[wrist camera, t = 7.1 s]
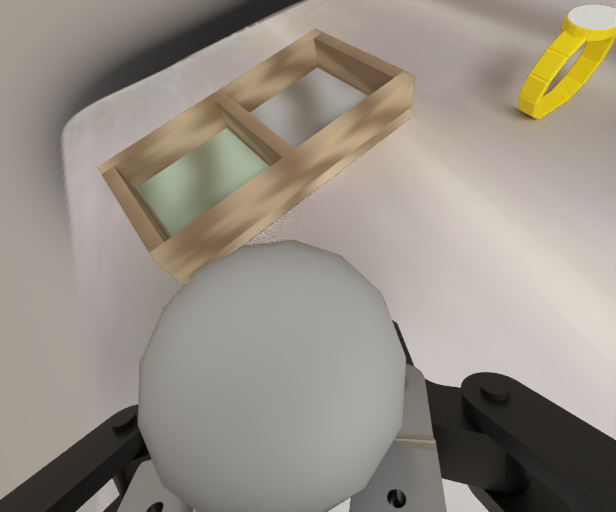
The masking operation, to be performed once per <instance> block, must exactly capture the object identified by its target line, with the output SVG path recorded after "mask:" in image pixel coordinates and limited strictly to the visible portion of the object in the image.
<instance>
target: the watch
mask: <svg viewBox="0 0 616 512" xmlns="http://www.w3.org/2000/svg"><path fill="white" fill-rule="evenodd" d="M561 30H562V33H561V34H560V35H559V36H558V37H557V38H556V39H555V40H554V42H553V43H552V44H551V45H550V46H549V47H548V49H547V50H545V52H544V53H543V55H542V56H541V57H540V59H539V60H538V62H537V63H536V64H535V66H534V67H533V69H532V70H531V72H530V74H529V75H528V77H527V79H526V81H525V83H524V85H523V87H522V89H521V91H520V94H519V99H518V109H519V110H521V111H522V112H524V113H526V114H528V115H529V116H531V117H533V118H535V119H536V120H539V119H540V118H542V117H543V116H545V115H546V114H548V113H550V112H551V111H553V110H554V109H556V108H557V107H559V106H560V105H562V104H563V103H567V101H568V100H569V99H570V98H571V97H572V96H573V95H574V94H575V93H576V92H577V91H578V90H579V89H580V88H581V87H582V86H583V85H584V82H586V81H587V80H588V79H589V78H590V76H591V75H592V74H593V72H594V71H595V70H596V69H597V67H598V66H599V65H600V64H601V61H603V59H604V57H605V56H606V54H607V52H608V51H609V49H610V48H611V46H612V44H613V43H614V40H615V38H616V9H614V8H612V7H608V6H604V5H585V6H580V7H577V8H575V9H573V10H571V11H570V12H569V13H568V14H567V15H566V17H565V19H564V21H563V23H562V26H561ZM585 42H587V44H586V45H585V47H584V49H583V51H582V53H581V55H580V56H579V57H578V59H577V60H576V62H575V63H574V64H573V66H572V67H571V69H570V70H569V71H568V73H567V75H565V76H564V77H563V78H562V80H561V81H560V82H559V83H558V84H557V85H556V86H555V87H554V88H553V89H552V90H551V91H550V92H549V93H547V94H546V95H544V93H545V91H546V90H547V88H548V86H549V84H550V82H551V81H552V80H553V78H554V77H555V76H556V75H557V73H558V72H559V71H560V69H561V68H562V67H563V65H564V64H565V63H566V62H567V60H568V58H570V57H571V56H572V55H573V54H574V53H575V52H576V51H577V50H578V49H579V48H580V47H581V46H582V45H583V44H584V43H585ZM543 95H544V96H543Z"/></svg>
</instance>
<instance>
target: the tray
mask: <svg viewBox="0 0 616 512" xmlns="http://www.w3.org/2000/svg"><path fill="white" fill-rule="evenodd" d="M414 82H415V76H414V75H412V74H410V73H408V72H406V71H404V70H402V69H400V68H398V67H395V66H393V65H391V64H389V63H387V62H385V61H383V60H381V59H378V58H376V57H374V56H372V55H370V54H368V53H366V52H364V51H362V50H359V49H357V48H355V47H353V46H351V45H349V44H347V43H345V42H342V41H340V40H338V39H336V38H334V37H332V36H330V35H328V34H325V33H323V32H321V31H319V30H317V29H314V30H312V31H311V32H309V33H308V34H306V35H305V36H303V37H301V38H300V39H298V40H297V41H295V42H294V43H292V44H290V45H289V46H287V47H286V48H284V49H283V50H281V51H279V52H278V53H276V54H275V55H273V56H272V57H270V58H268V59H267V60H265V61H264V62H262V63H260V64H259V65H257V66H256V67H254V68H253V69H251V70H249V71H248V72H246V73H245V74H243V75H242V76H240V77H238V78H237V79H235V80H234V81H232V82H231V83H229V84H227V85H226V86H224V87H223V88H221V89H219V90H218V91H216V92H215V93H213V94H212V95H210V96H208V97H207V98H205V99H204V100H202V101H201V102H199V103H197V104H196V105H194V106H193V107H191V108H190V109H188V110H186V111H185V112H183V113H182V114H180V115H179V116H177V117H175V118H174V119H172V120H171V121H169V122H167V123H166V124H164V125H163V126H161V127H160V128H158V129H156V130H155V131H153V132H152V133H150V134H149V135H147V136H145V137H144V138H142V139H141V140H139V141H138V142H136V143H134V144H133V145H131V146H130V147H128V148H126V149H125V150H123V151H122V152H120V153H119V154H117V155H115V156H114V157H112V158H111V159H109V160H108V161H106V162H104V163H103V164H101V165H100V166H98V167H97V168H98V169H99V171H100V173H101V174H102V176H103V177H104V179H105V181H106V182H107V184H108V186H109V187H110V189H111V191H112V192H113V194H114V195H115V197H116V199H117V200H118V202H119V204H120V205H121V207H122V209H123V210H124V212H125V213H126V215H127V217H128V218H129V220H130V222H131V223H132V225H133V227H134V228H135V230H136V232H137V233H138V235H139V236H140V238H141V240H142V241H143V243H144V245H145V246H146V248H147V250H148V251H149V253H150V254H151V256H152V258H153V259H154V261H155V263H156V264H157V265H158V266H160V267H161V268H162V269H164V270H165V271H166V272H168V273H169V274H170V275H172V276H173V277H174V278H176V279H177V280H178V281H180V282H181V283H182V284H184V285H185V284H186V283H187V282H188V281H189V280H190V279H191V278H192V277H193V276H194V274H195V273H196V272H197V271H198V270H199V269H200V268H202V267H204V266H206V265H208V264H210V263H212V262H214V261H216V260H218V259H220V258H222V257H224V256H226V255H228V254H230V253H232V252H234V251H236V250H237V249H238V248H240V247H241V246H242V245H244V244H245V243H246V242H248V241H249V240H250V239H251V238H253V237H254V236H255V235H257V234H258V233H259V232H261V231H262V230H263V229H265V228H266V227H267V226H269V225H270V224H271V223H273V222H274V221H275V220H277V219H278V218H279V217H281V216H282V215H283V214H285V213H286V212H287V211H288V210H290V209H291V208H292V207H294V206H295V205H296V204H298V203H299V202H300V201H302V200H303V199H304V198H306V197H307V196H308V195H310V194H311V193H312V192H314V191H315V190H316V189H318V188H319V187H320V186H321V185H323V184H324V183H325V182H327V181H328V180H329V179H331V178H332V177H333V176H335V175H336V174H337V173H339V172H340V171H341V170H343V169H344V168H345V167H347V166H348V165H349V164H351V163H352V162H353V161H354V160H356V159H357V158H358V157H360V156H361V155H362V154H364V153H365V152H366V151H368V150H369V149H370V148H372V147H373V146H374V145H376V144H377V143H378V142H380V141H381V140H382V139H384V138H385V137H386V136H387V135H389V134H390V133H391V132H393V131H394V130H395V129H397V128H398V127H399V126H401V125H402V124H403V123H405V122H406V121H407V120H409V119H410V112H411V105H412V97H413V89H414Z"/></svg>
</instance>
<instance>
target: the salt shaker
mask: <svg viewBox="0 0 616 512" xmlns="http://www.w3.org/2000/svg"><path fill="white" fill-rule="evenodd" d="M405 368H406V356H405V354H404V351H403V348H402V346H401V343H400V340H399V338H398V335H397V332H396V330H395V327H394V324H393V322H392V319H391V316H390V314H389V311H388V308H387V306H386V303H385V301H384V298H383V296H382V294H381V292H380V291H379V290H378V289H377V288H376V287H375V286H374V285H373V284H371V283H370V282H369V281H368V280H367V279H366V278H365V277H364V276H363V275H362V274H361V273H359V272H358V271H357V270H356V269H355V268H354V267H353V266H352V265H351V264H350V263H348V262H347V261H346V260H345V259H344V258H343V257H342V256H341V255H338V254H335V253H332V252H329V251H326V250H323V249H320V248H316V247H313V246H310V245H307V244H304V243H301V242H298V241H295V240H290V241H281V242H272V243H263V244H255V245H246V246H243V247H241V248H239V249H238V250H236V251H234V252H232V253H230V254H228V255H226V256H224V257H222V258H220V259H218V260H216V261H214V262H212V263H210V264H208V265H206V266H204V267H202V268H200V269H199V270H198V271H197V272H196V273H195V274H194V276H193V277H192V278H191V279H190V280H189V281H188V282H187V283H186V284H185V285H184V287H183V288H182V289H181V290H180V291H179V292H178V293H177V294H176V295H175V296H174V297H173V299H172V300H171V301H170V302H169V303H168V304H167V305H166V306H165V307H164V308H163V311H162V313H161V315H160V317H159V320H158V322H157V324H156V326H155V329H154V331H153V333H152V336H151V338H150V340H149V342H148V345H147V347H146V349H145V351H144V354H143V356H142V358H141V360H140V368H139V402H138V426H139V429H140V431H141V434H142V436H143V439H144V441H145V444H146V446H147V449H148V451H149V454H150V456H151V459H152V461H153V464H154V466H155V469H156V471H157V474H158V476H159V479H160V481H161V484H162V486H163V487H164V488H166V489H167V490H169V491H170V492H171V493H173V494H174V495H175V496H177V497H178V498H180V499H181V500H182V501H184V502H185V503H186V504H188V505H189V506H191V507H192V508H193V509H195V510H196V511H198V512H327V511H329V510H331V509H332V508H334V507H335V506H337V505H339V504H340V503H342V502H344V501H345V500H347V499H348V498H350V497H351V496H353V495H355V494H356V493H358V492H360V491H361V490H363V489H365V487H366V485H367V484H368V482H369V480H370V479H371V477H372V475H373V474H374V472H375V470H376V469H377V467H378V465H379V464H380V462H381V460H382V459H383V457H384V455H385V454H386V452H387V450H388V449H389V447H390V445H391V444H392V442H393V440H394V439H395V437H396V435H397V433H398V432H399V430H400V428H401V427H402V419H403V402H404V385H405Z"/></svg>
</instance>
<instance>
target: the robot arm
mask: <svg viewBox="0 0 616 512" xmlns="http://www.w3.org/2000/svg"><path fill="white" fill-rule="evenodd" d="M392 322H393V324H394V327H395V330H396V332H397V335H398V338H399V340H400V343H401V346H402V348H403V351H404V354H405V356H406V368H405V385H404V402H403V419H402V427H401V428H400V430H399V432H398V433H397V435H396V437H395V439H394V440H393V442H392V444H391V445H390V447H389V449H388V450H387V452H386V454H385V455H384V457H383V459H382V460H381V462H380V464H379V465H378V467H377V469H376V470H375V472H374V474H373V475H372V477H371V479H370V480H369V482H368V484H367V485H366V487H365V489H363V490H361V491H360V492H358V493H356V494H355V495H353V496H351V502H350V510H349V512H447V511H446V504H445V498H444V491H443V485H442V478H443V479H447V480H451V481H455V482H459V483H463V484H467V485H468V487H469V488H470V490H471V492H472V493H473V494H474V495H475V497H476V498H477V499H478V500H479V501H480V502H481V503H482V504H483V505H484V506H485V508H486V509H487V510H488V511H489V512H616V440H614V439H613V438H611V437H609V436H608V435H606V434H604V433H603V432H601V431H599V430H598V429H596V428H594V427H593V426H591V425H589V424H588V423H586V422H584V421H583V420H581V419H580V418H578V417H576V416H575V415H573V414H571V413H570V412H568V411H566V410H565V409H563V408H561V407H560V406H558V405H556V404H555V403H553V402H551V401H550V400H548V399H546V398H545V397H543V396H541V395H540V394H538V393H536V392H535V391H533V390H531V389H530V388H528V387H526V386H525V385H523V384H521V383H520V382H518V381H516V380H514V379H513V378H510V377H508V376H505V375H502V374H497V373H491V372H481V373H475V374H472V375H470V376H468V377H466V378H465V379H464V380H463V382H462V384H461V388H458V387H451V386H444V385H439V384H435V383H433V382H430V381H428V380H426V379H425V378H424V375H423V374H422V372H421V371H420V370H418V369H417V368H416V367H414V364H413V362H412V359H411V357H410V354H409V352H408V349H407V347H406V344H405V342H404V340H403V337H402V334H401V332H400V329H399V327H398V324H397V323H396V322H394V321H393V320H392ZM112 478H113V481H114V483H115V485H116V487H117V489H118V492H119V494H120V495H119V496H118V497H117V498H116V499H115V500H114V501H113V502H112V503H111V504H110V505H109V506H108V507H107V508H106V509H105V510H104V511H103V512H198V511H196V510H195V509H193V508H192V507H191V506H189V505H188V504H186V503H185V502H184V501H182V500H181V499H180V498H178V497H177V496H175V495H174V494H173V493H171V492H170V491H169V490H167V489H166V488H164V487H163V486H162V484H161V481H160V479H159V476H158V474H157V471H156V469H155V466H154V464H153V461H152V459H151V456H150V454H149V451H148V449H147V446H146V444H145V441H144V439H143V436H142V434H141V431H140V429H139V426H138V405H134V406H131V407H128V408H125V409H123V410H121V411H119V412H118V413H116V414H114V415H113V416H111V417H110V418H109V419H107V420H106V421H105V422H103V423H102V424H101V425H99V426H98V427H97V428H95V429H94V430H93V431H91V432H90V433H89V434H87V435H86V436H85V437H84V438H82V439H81V440H79V441H78V442H77V443H76V444H74V445H73V446H72V447H70V448H69V449H68V450H66V451H65V452H64V453H62V454H61V455H60V456H58V457H57V458H56V459H54V460H53V461H52V462H50V463H49V464H48V465H46V466H45V467H44V468H42V469H41V470H40V471H38V472H37V473H36V474H35V475H33V476H32V477H30V478H29V479H28V480H26V481H25V482H24V483H22V484H21V485H20V486H19V487H17V488H16V489H14V490H13V491H12V492H10V493H9V494H8V495H6V496H5V497H4V498H2V499H1V500H0V512H76V511H77V510H78V509H79V508H80V507H81V506H82V505H83V504H84V503H85V502H86V501H88V500H89V499H90V498H91V497H92V496H93V495H94V494H95V493H96V492H97V491H99V490H100V489H101V488H102V487H103V486H104V485H105V484H106V483H107V482H108V481H109V480H110V479H112Z"/></svg>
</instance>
